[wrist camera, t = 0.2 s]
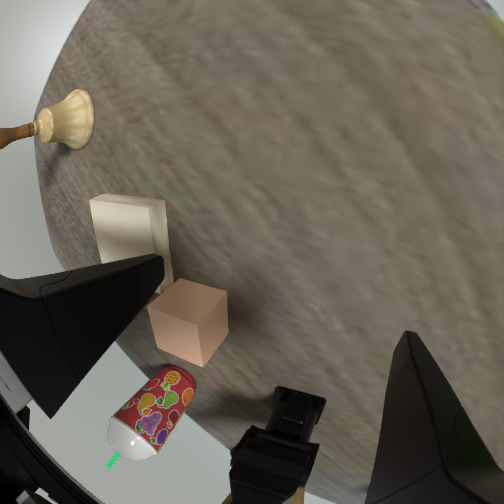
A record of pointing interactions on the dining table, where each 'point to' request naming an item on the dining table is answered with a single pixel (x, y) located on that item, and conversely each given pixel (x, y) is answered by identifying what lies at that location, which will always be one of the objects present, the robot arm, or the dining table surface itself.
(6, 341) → the robot arm
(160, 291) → the base
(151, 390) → the smoothie
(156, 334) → the cube
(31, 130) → the hand bell
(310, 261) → the dining table surface
